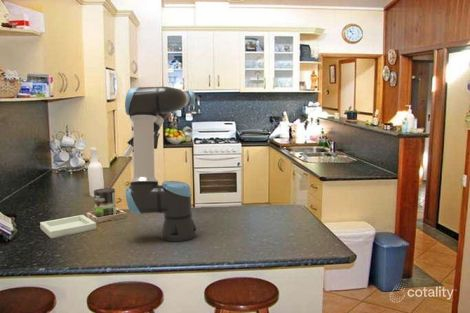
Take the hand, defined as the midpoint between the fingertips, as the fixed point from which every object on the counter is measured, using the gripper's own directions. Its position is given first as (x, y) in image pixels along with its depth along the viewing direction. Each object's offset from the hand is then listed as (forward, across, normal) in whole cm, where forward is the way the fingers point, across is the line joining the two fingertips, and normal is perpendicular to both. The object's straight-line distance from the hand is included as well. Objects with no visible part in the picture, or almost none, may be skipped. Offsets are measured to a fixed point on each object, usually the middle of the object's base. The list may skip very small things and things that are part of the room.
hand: (134, 157), depth 233 cm
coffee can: (+31, +6, -9) cm, 33 cm away
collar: (+31, +6, -9) cm, 33 cm away
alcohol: (+13, +55, -33) cm, 66 cm away
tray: (+46, +5, +8) cm, 47 cm away
